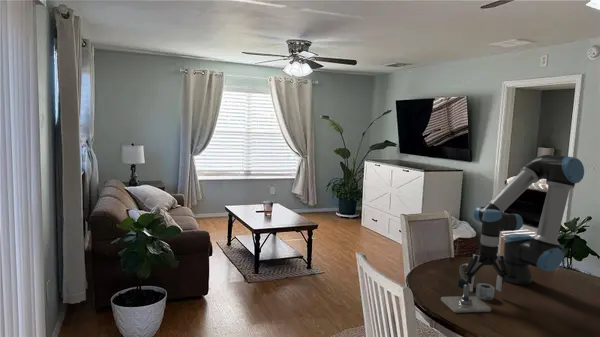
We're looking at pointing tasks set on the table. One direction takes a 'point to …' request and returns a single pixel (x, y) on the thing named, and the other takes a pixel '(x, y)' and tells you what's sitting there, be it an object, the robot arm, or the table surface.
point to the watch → (463, 277)
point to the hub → (485, 291)
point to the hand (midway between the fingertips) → (484, 290)
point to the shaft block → (465, 302)
